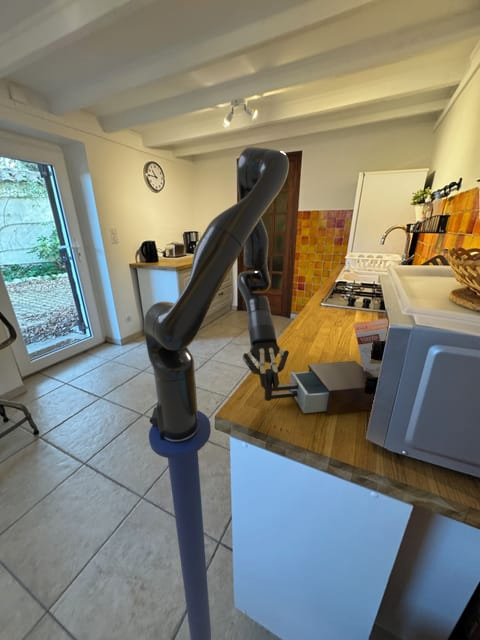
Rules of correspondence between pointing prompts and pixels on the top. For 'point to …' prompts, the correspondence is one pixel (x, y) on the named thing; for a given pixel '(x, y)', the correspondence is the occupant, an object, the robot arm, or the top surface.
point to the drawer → (300, 391)
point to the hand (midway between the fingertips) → (270, 388)
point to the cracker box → (370, 342)
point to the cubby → (343, 386)
